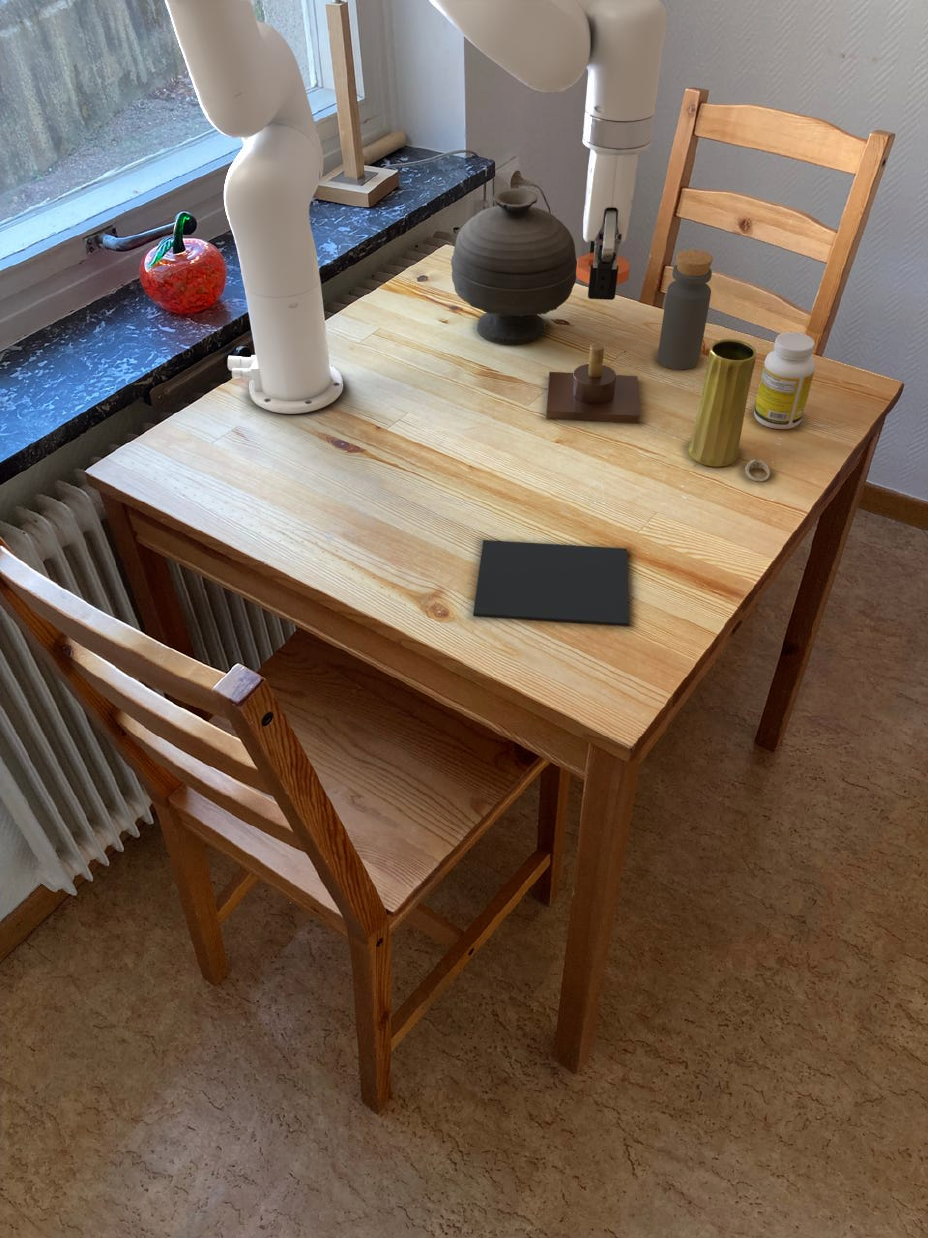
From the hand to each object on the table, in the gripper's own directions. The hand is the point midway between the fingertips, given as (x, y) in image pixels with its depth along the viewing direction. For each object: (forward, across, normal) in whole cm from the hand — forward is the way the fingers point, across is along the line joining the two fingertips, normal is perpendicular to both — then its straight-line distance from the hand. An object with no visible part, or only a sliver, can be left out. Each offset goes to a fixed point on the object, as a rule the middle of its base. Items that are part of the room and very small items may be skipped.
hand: (601, 283), depth 121 cm
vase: (+17, +10, +16) cm, 25 cm away
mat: (+17, +36, -4) cm, 40 cm away
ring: (+17, +14, +20) cm, 30 cm away
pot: (+17, -20, -11) cm, 28 cm away
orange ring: (-1, 0, 0) cm, 1 cm away
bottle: (+17, -12, +13) cm, 24 cm away
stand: (+17, -1, 0) cm, 17 cm away
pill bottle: (+17, +2, +24) cm, 30 cm away
